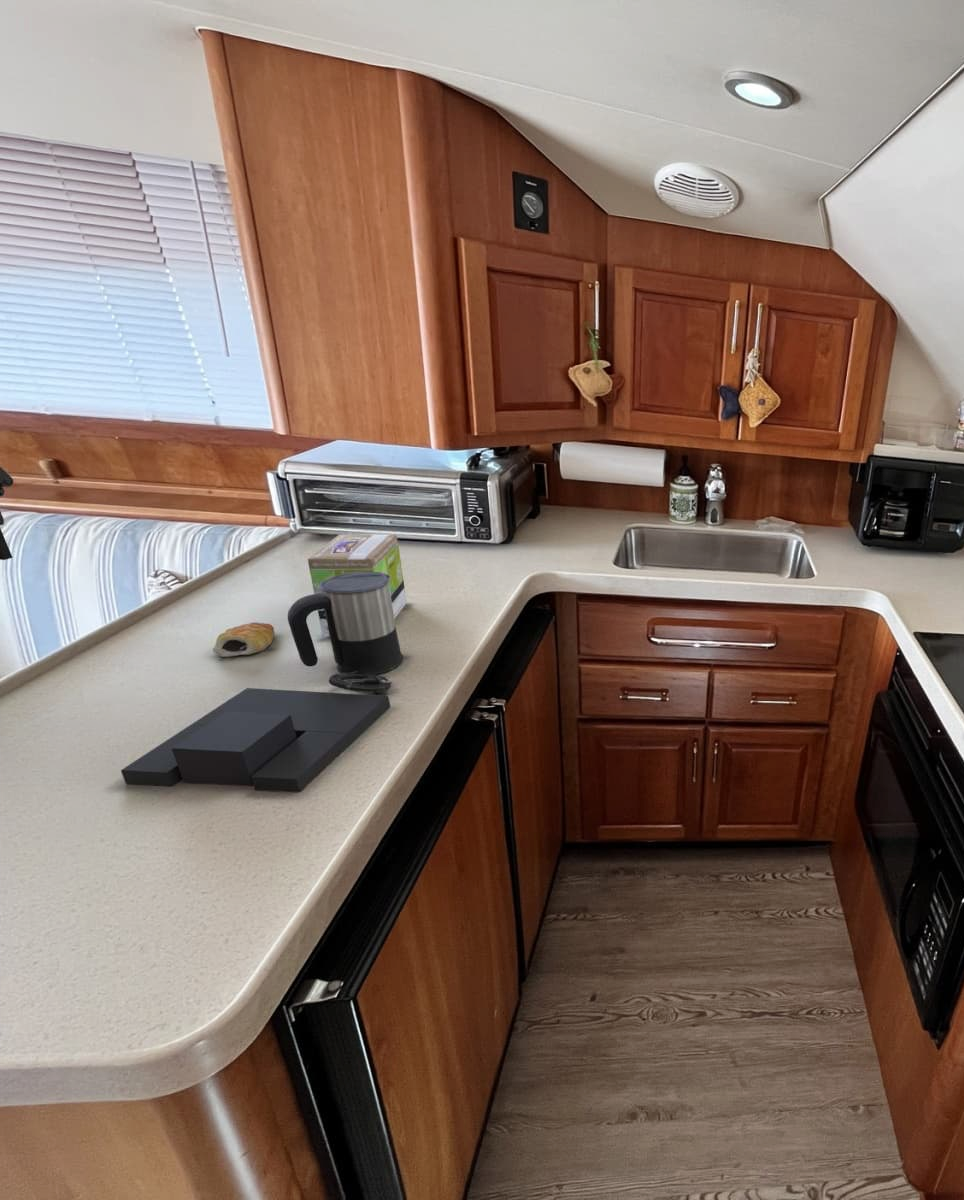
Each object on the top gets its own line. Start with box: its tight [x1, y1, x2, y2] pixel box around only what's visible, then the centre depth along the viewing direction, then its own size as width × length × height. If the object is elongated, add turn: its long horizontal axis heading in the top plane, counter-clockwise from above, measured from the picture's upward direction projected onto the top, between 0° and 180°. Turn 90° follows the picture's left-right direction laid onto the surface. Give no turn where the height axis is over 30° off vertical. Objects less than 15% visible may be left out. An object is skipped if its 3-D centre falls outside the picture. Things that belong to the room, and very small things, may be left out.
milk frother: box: [287, 571, 405, 695], centre depth 98 cm, size 14×16×15 cm
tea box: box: [307, 533, 407, 637], centre depth 116 cm, size 15×10×15 cm, turn 17°
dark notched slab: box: [120, 687, 391, 793], centre depth 84 cm, size 20×19×2 cm
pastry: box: [212, 621, 275, 658], centre depth 106 cm, size 9×7×4 cm
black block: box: [172, 711, 297, 787], centre depth 79 cm, size 8×8×5 cm
